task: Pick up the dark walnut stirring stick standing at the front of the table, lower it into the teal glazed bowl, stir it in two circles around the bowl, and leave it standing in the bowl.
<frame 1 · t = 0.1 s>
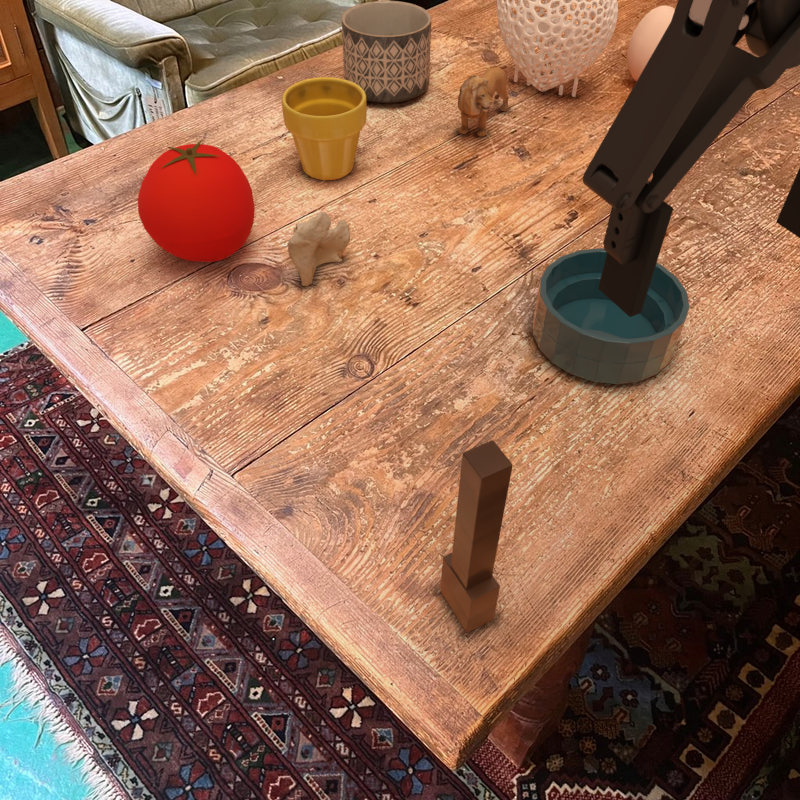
hand: (712, 265, 44), 27 cm above the table, tool pointing down, fingers open, 13 cm apart
bowl: (601, 337, 79), on the table
planter: (386, 90, 116), on the table
lion figurine: (483, 126, 109), on the table
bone: (315, 265, 87), on the table
flower pot: (328, 168, 101), on the table
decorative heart: (543, 91, 117), on the table
egg: (646, 86, 118), on the table
stirring stick: (466, 604, 59), on the table
tomato: (207, 252, 89), on the table
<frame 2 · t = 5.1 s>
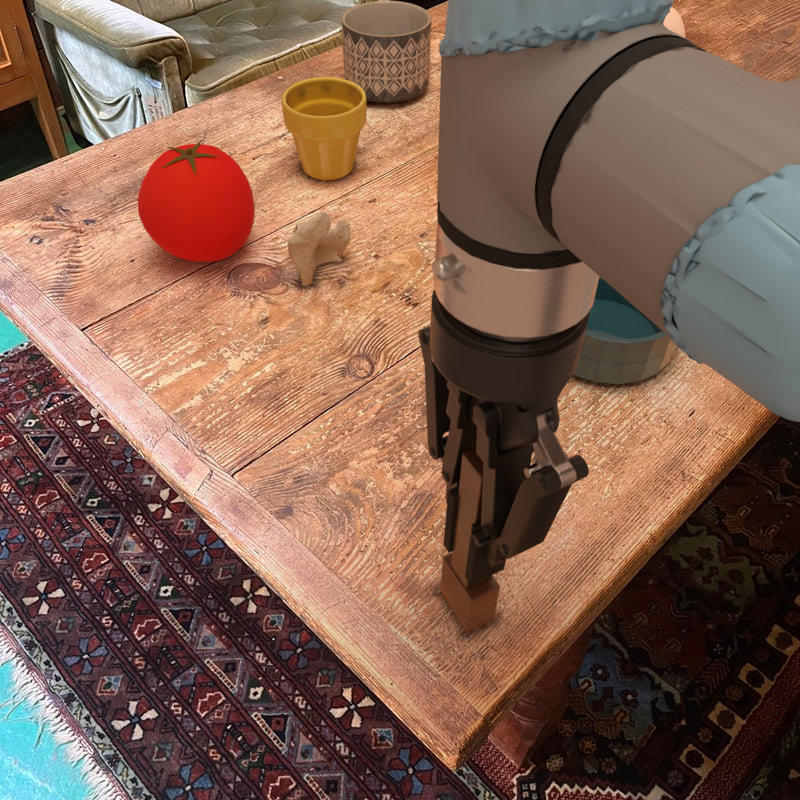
hand: (473, 556, 54), 7 cm above the table, tool pointing down, fingers closed on stirring stick, 2 cm apart
stirring stick: (466, 604, 59), on the table, touching gripper
everything else where it was.
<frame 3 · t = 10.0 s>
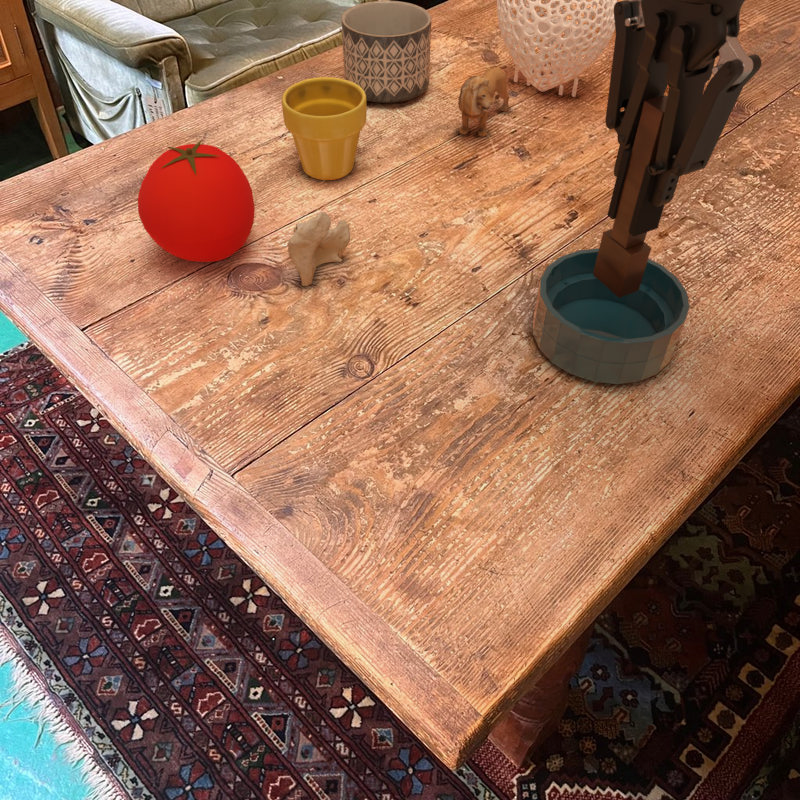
hand: (632, 221, 69), 14 cm above the table, tool pointing down, fingers closed on stirring stick, 2 cm apart
stirring stick: (615, 282, 74), point 7 cm above the table, touching gripper
everything else where it was.
when the fingers open (8 cm above the table, at t = 14.9 s): stirring stick stays where it is, resting on bowl.
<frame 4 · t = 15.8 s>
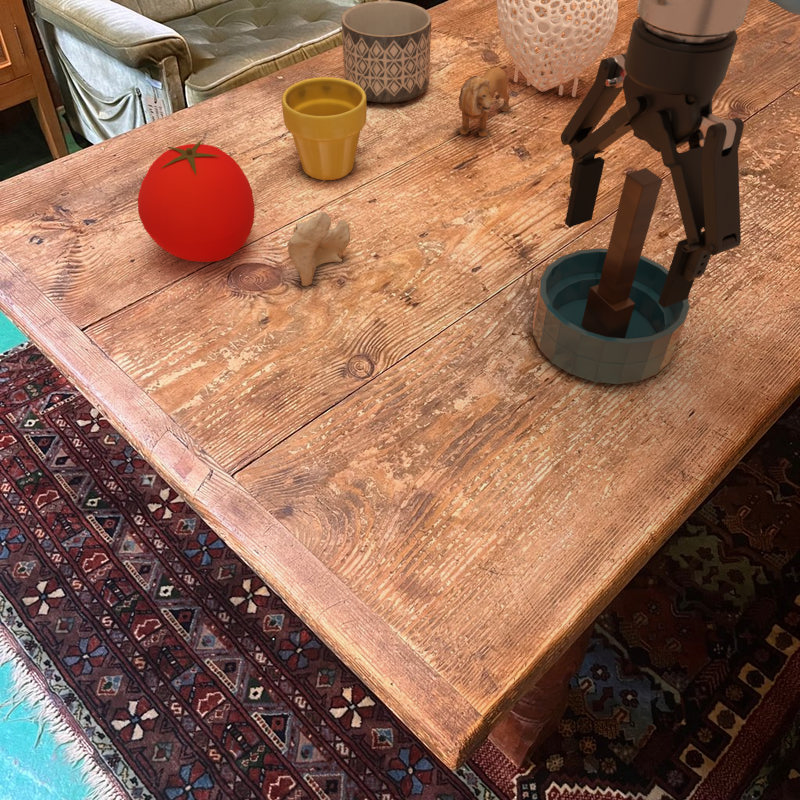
hand: (622, 259, 72), 10 cm above the table, tool pointing down, fingers open, 13 cm apart
stirring stick: (602, 333, 79), point 1 cm above the table, touching bowl
everything else where it was.
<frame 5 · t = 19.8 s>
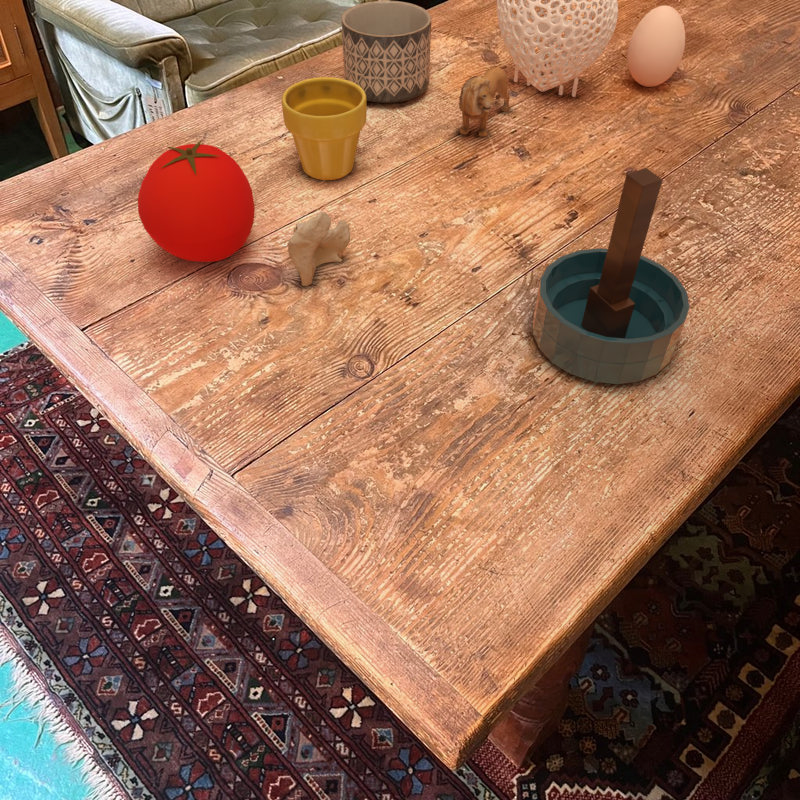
nothing on the table moved.
at the end: stirring stick inside the target area in the bowl (0.1 cm from its centre), point 0.6 cm above the bowl's base; stirring stick moved 33.9 cm from its start; stirring stick touching bowl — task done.
